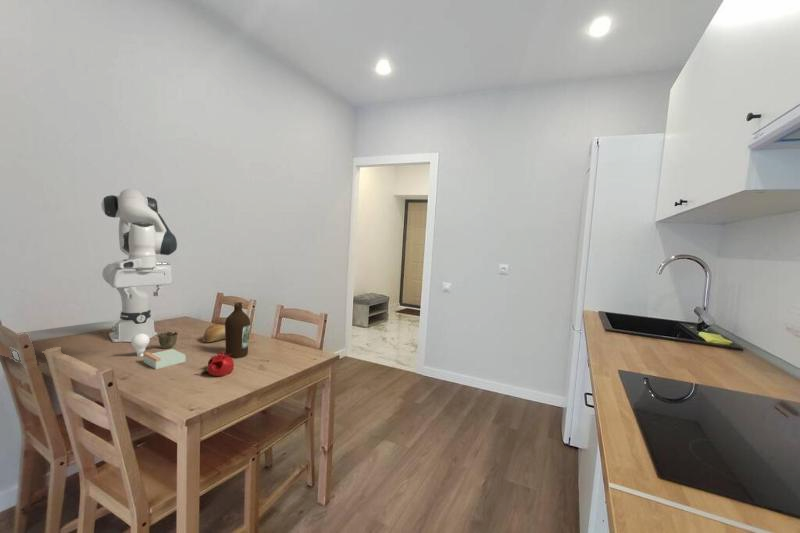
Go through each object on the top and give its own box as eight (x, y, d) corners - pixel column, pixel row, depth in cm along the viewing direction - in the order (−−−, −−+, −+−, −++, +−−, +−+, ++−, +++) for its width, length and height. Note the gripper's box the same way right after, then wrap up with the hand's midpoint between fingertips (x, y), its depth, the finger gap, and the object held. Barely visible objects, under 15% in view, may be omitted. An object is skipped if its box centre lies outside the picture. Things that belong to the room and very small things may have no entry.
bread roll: (197, 342, 172) (197, 326, 172) (223, 335, 186) (223, 321, 185) (210, 345, 168) (211, 329, 168) (235, 338, 182) (236, 323, 182)
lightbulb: (129, 361, 142) (129, 336, 141) (133, 356, 148) (133, 332, 147) (147, 360, 145) (148, 335, 144) (150, 355, 151) (151, 331, 150)
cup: (181, 348, 162) (181, 332, 161) (169, 353, 154) (169, 336, 154) (166, 346, 162) (166, 330, 162) (154, 351, 155) (154, 334, 154)
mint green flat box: (143, 362, 139) (143, 352, 139) (172, 355, 149) (172, 346, 148) (155, 369, 134) (156, 359, 133) (185, 361, 143) (185, 352, 143)
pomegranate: (224, 367, 144) (225, 345, 143) (239, 372, 139) (240, 350, 138) (201, 373, 135) (201, 351, 135) (215, 380, 130) (216, 356, 130)
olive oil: (219, 358, 153) (221, 304, 151) (230, 350, 163) (232, 299, 161) (243, 359, 153) (245, 305, 151) (252, 351, 164) (254, 301, 162)
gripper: (167, 262, 145) (167, 293, 146) (107, 263, 127) (108, 299, 128) (175, 262, 142) (175, 295, 142) (114, 264, 124) (115, 301, 125)
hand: (142, 297), depth 135 cm, fingers open, 8 cm apart
